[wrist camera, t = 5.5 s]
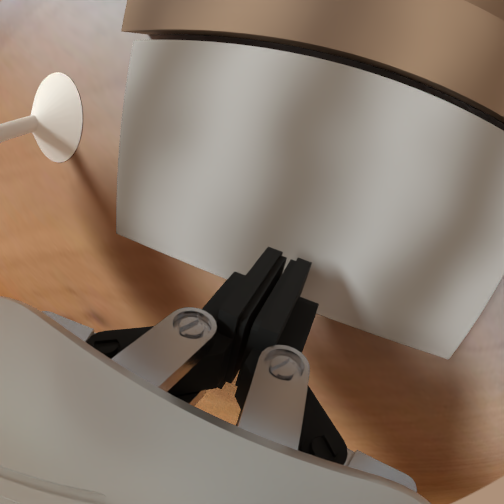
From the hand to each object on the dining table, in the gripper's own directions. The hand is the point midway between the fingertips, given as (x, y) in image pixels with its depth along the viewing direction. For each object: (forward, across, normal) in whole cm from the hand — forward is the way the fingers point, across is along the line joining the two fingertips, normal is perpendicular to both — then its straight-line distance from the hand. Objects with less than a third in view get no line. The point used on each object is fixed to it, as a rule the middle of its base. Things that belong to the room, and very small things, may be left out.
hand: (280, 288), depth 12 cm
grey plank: (+4, 0, -3) cm, 5 cm away
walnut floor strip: (+4, 0, -12) cm, 13 cm away
